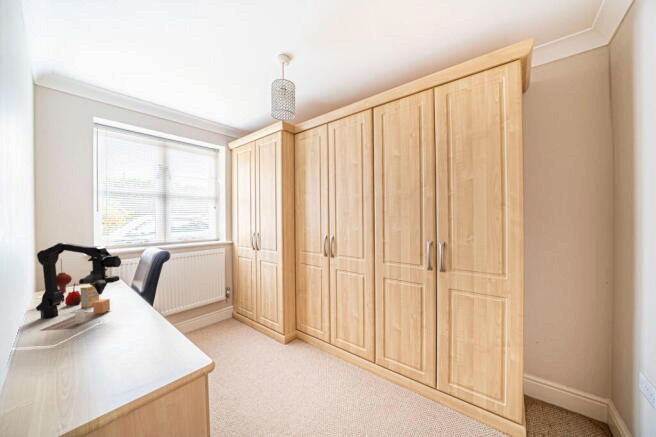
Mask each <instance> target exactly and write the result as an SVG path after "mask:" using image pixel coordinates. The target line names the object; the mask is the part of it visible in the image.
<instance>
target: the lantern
mask: <svg viewBox="0 0 656 437" xmlns="http://www.w3.org/2000/svg"><path fill="white" fill-rule="evenodd" d="M62 263H63V261H62V259H60V269H61V272H58V274H56V275H57V285H58V289H59V290H60V291H63V292H64V293H63V295H65V293H67V285H69V284H70V283H71V282H72V280H73V278H72V276H71V275H70V274H68V273H66V272H63V264H62ZM63 301H64V302H65V296H64V297H63V300H62V301H61V302H62V303H63Z"/></svg>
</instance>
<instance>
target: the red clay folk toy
mask: <svg viewBox="0 0 656 437" xmlns="http://www.w3.org/2000/svg"><path fill="white" fill-rule="evenodd" d="M72 285H73V288H72V291H69V292H68V293H67V295H66V297H65V298H64V302H65V305H66V306H68V307H72V305H73V306H77V305H79V304H81V292H80V291H79V290H75V287H76V286H79V283H77V284H76V282H74V283H72Z"/></svg>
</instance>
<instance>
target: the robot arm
mask: <svg viewBox="0 0 656 437" xmlns="http://www.w3.org/2000/svg"><path fill="white" fill-rule="evenodd" d="M65 251H66V252H74V253H79V254H84V255H86V256H88V257H89V259H88V260H87V262H91V264H92V268H91V269H92V270H90V271H89V272H90V273H89V275H86V276H85V277H83V278H80V279H79V280H78V285H87V284H89V285H92V286H94V287H95V289H96V290H97V292H98V294H99V296H100V295H102V294H103V292H104V291H105V288H106V287H107V285H108V284H112V283H115V282H119V281H120V276H119V275H111V276H108V274H106V271H108V268H119V267H120V266H121V264H122V260H121V258H120V257H119V255H112V254H110V252H109V251H108V250H107V248H106V247H105V246H103V245H101V246H100V245H99V246H98V245H97V246H96V245H95V246H89V245H88V246H87V245H80V244H75V243H68V242H66V241H64V242H58V243H56V244H55V245H53V246H50V247H48V248H46V249H44V250H43V249H42V250H40V251H39V252H37V254H36V258H37V261H38V263H39V264H40V265H42V271H43V272H42V273H43V279H44V281H43V283H44V292H43V294H42V297H41V302H40V303H39V304H38V305H37V306H36V307H35V309H36V311H37V312H40V319H42V320H47V319H54V318H57V317H58V316H59V309H58V306H60V305H61V302H62V300H63V297H64V298H65V293H64V292H63V291H60V290H59V286H58V285H57V275H58V274H57V267H56V264H57V262H58V261H59V255H60V254H62V253H64V252H65ZM63 293H64V294H63Z"/></svg>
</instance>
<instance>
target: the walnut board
mask: <svg viewBox="0 0 656 437" xmlns="http://www.w3.org/2000/svg"><path fill="white" fill-rule="evenodd" d="M111 312H112V310H109V311H107V312H104V313H96V314H94V312H93V311H85V322H83V323H78V324H76V314H75V315H73V316H71V317H68V318H64V319H63V320H61V321H59V322H56V323H54V324H52V325H49V326H47V327H45V328H42V329H40V330H39V332H40V331H41V332H42V331H43V332H44V331H57V330H59V331H60V330H75V329H78V328H79V327H81V326H83V325H85V324H88V323H89V322H91V321H94V320H96V319H98V318H101V317H102V316H104V315H107V314H108V313H111Z"/></svg>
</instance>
